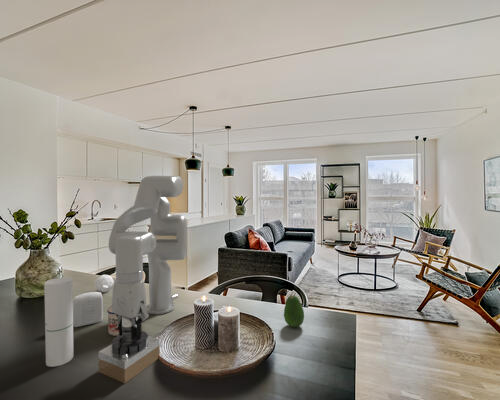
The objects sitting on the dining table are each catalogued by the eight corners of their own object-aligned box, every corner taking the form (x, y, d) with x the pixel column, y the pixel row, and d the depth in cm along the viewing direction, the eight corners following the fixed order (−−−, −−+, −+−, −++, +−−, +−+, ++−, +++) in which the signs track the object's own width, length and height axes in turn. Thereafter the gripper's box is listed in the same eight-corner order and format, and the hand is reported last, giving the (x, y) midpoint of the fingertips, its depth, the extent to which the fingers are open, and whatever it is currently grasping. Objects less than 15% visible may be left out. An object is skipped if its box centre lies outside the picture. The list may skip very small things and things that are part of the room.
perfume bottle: (91, 286, 145) (92, 296, 135) (97, 270, 146) (99, 279, 136) (109, 288, 150) (111, 298, 140) (114, 272, 150) (117, 281, 140)
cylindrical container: (69, 350, 90) (67, 275, 90) (77, 358, 86) (75, 280, 85) (42, 360, 85) (41, 281, 84) (49, 369, 80) (48, 286, 80)
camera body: (135, 348, 91) (134, 325, 91) (159, 357, 86) (159, 333, 86) (98, 371, 79) (98, 345, 79) (124, 383, 75) (124, 355, 74)
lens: (131, 332, 86) (130, 310, 85) (141, 336, 84) (141, 313, 83) (118, 339, 82) (118, 316, 81) (129, 343, 80) (128, 319, 79)
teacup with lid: (102, 333, 101) (101, 302, 101) (122, 322, 109) (122, 294, 109) (125, 340, 96) (124, 308, 96) (144, 328, 104) (144, 299, 104)
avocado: (285, 320, 112) (285, 291, 111) (305, 323, 109) (305, 293, 109) (282, 329, 104) (282, 299, 104) (302, 333, 102) (302, 301, 101)
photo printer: (102, 317, 114) (102, 288, 113) (103, 322, 110) (103, 291, 110) (73, 324, 108) (72, 293, 108) (73, 329, 104) (72, 297, 104)
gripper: (99, 276, 82) (100, 335, 83) (139, 284, 75) (140, 349, 76) (121, 269, 89) (121, 324, 90) (159, 276, 82) (160, 336, 82)
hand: (130, 335), depth 83 cm, fingers closed on lens, 4 cm apart
